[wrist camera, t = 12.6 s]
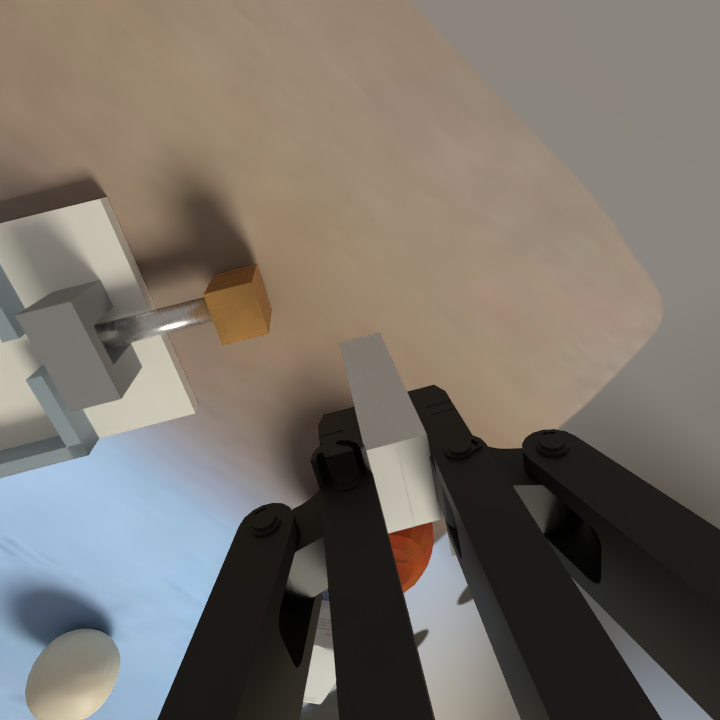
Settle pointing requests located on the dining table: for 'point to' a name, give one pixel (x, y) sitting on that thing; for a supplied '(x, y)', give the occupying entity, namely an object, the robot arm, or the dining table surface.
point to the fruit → (412, 552)
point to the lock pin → (202, 312)
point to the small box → (321, 660)
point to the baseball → (73, 676)
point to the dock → (70, 264)
